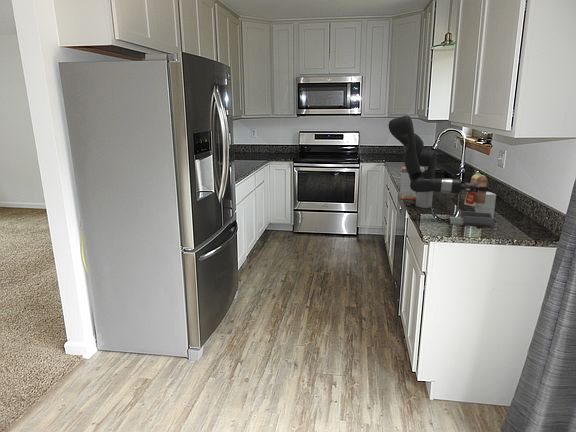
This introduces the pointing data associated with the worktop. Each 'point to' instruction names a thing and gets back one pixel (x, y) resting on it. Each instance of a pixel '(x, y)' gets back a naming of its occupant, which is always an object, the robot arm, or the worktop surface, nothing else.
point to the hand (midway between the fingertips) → (486, 188)
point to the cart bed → (474, 219)
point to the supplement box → (487, 204)
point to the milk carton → (471, 195)
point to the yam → (481, 195)
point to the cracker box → (407, 185)
